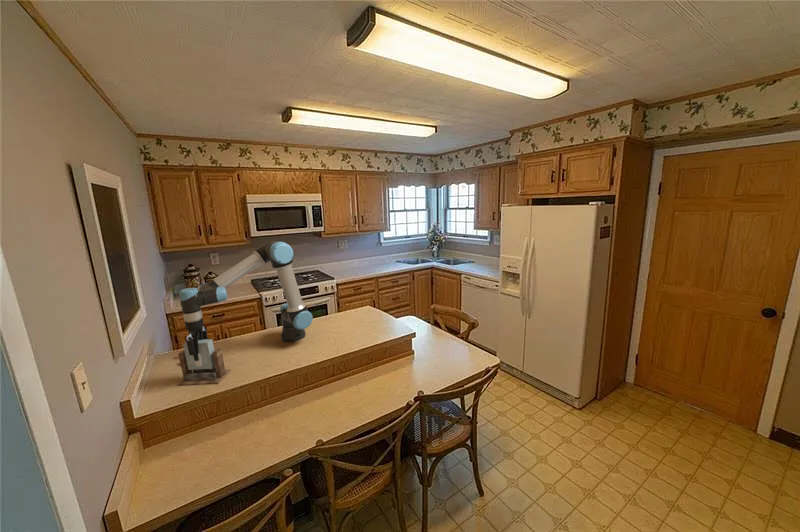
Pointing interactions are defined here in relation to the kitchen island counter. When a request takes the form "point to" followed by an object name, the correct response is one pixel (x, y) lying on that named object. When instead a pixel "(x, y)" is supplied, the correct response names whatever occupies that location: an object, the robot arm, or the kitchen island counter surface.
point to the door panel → (205, 352)
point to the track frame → (203, 371)
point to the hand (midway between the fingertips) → (202, 363)
